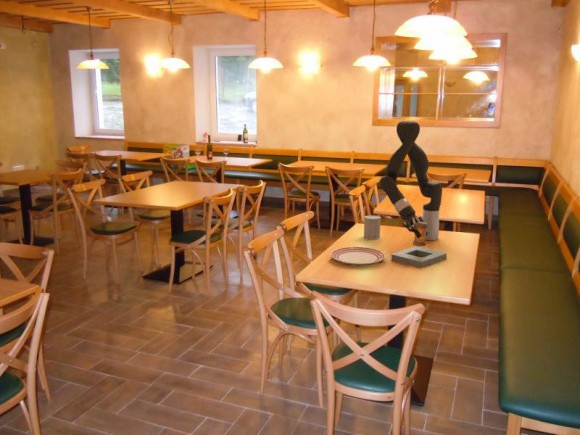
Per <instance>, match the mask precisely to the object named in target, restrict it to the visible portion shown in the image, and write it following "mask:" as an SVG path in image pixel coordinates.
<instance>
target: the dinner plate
mask: <svg viewBox="0 0 580 435" xmlns="http://www.w3.org/2000/svg"><path fill="white" fill-rule="evenodd" d="M330 256H331V258H332V259H334V260H335V261H338V262H339V263H344V264H347V265H351V266H368V265H373V264H377V263H380V262H381V261H383V260H384V259H385V258H386V253H384V252H383V251H381V250H379V249H376V248H373V247H368V246H346V247H345V246H344V247H339V248H337V249H333V251H331V253H330Z"/></svg>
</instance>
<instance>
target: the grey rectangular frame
mask: <svg viewBox="0 0 580 435" xmlns="http://www.w3.org/2000/svg"><path fill="white" fill-rule="evenodd" d="M447 254H448V253H447V252H443V251H439V250H435V249H431V248H426V247H424V246H415V245H414V246H412V247H409V248H407V249H404V250H400V251H397V252H395V253H391V261H395V262H398V263H401V264H404V265H409V266H413V267H417V268H421V269H423V268H425V267H428V266H431V265H434V264H437V263H439V262H442V261H444V260H446V259H447Z"/></svg>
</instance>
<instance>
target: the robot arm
mask: <svg viewBox="0 0 580 435" xmlns="http://www.w3.org/2000/svg"><path fill="white" fill-rule="evenodd" d="M420 132H421V126H420V124H419V122H417V121H412V120H411V121H409V120H404V121H403V120H401V121H399V122H398V123H397V124H396V135H397V137H398V139H399V141H400V142H401V145H400V146H399V147H398V148H397V149H396V150H395V151H394V152H393V154H392V155H391V157H390V159H389V160H388V163H387V166H386V169H385V175H384V176H382V177H381V178H380V179H379V186H380V188H381V190H382V191H383V192H384V193H385V194H386V196H387V197H388V199H389V201H390V202H391V204H392V205H393V207H394V209H395V210H396V212H397V213H398V215H399V216H400V218H401V219H402V221H404V222H402V224H403V226H404V227H405V228H406V229H407V231H409V232H410V233H411V232H412V233H413V234H414V236H415V235H416V237H417V238H420V237H421V234H420V233H419V231H418V230H417V228H416V227H415V224H414V223H415V222H426V223H428V226H427V227H426V238H425V241H437V240H438V239H439V233H440V232H439V231H440V210H441V209H440V208H441V205H442V198H443V185H442V184H441V183H439V182H435V181H430V180H429V178H428V174H427V172H428V170H429V168H430V161H429V158H428V156H427V154H426V152H425V151H424V149H422V147H420V146H419V145H418V144H417V143H416V140H417V138H418V137H419V135H420ZM407 157H408V160H409V162H410V164H411V167H412V170H413V171H414V174H415V178H416V179H417V183H418V187H419V191H420V193H421V195H422V196H423V197H424V198H428V199H430V200H429V202H426V203H424V204H423V206H422V216H419V217H418V216H417V215H416V210H415V209H414V207H413V206H412V205H411V203H410V202H409V200H408V199H407V198H406V197H405V196H404V194H403V193H402V192H401V191H400V189H399V188H398V186H397V184H396V183H397V180H398V176H399V173H400V171H401V169H402V167H403V164H404V161H405V159H406V158H407Z"/></svg>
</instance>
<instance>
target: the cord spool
mask: <svg viewBox="0 0 580 435" xmlns="http://www.w3.org/2000/svg"><path fill="white" fill-rule="evenodd" d="M414 224H415V227H416V228H417V230H418V231H419V233H420V234H421V237H420V238H417V237H416V235H415V234H414V240H413V241H412V245H413V246H414V247H415V246H419V247H425V246H427V240H425V238H426V227H427V226H428V223H426V222H415V223H414Z"/></svg>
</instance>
